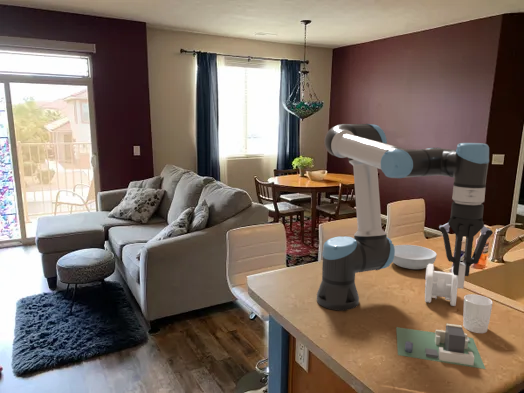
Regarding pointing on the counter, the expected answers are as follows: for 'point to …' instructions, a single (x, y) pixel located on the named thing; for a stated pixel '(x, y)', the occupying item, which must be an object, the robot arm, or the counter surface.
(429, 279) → the cable organizer
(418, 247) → the serving bowl
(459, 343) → the plug
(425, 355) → the board
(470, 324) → the white cup
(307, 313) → the counter surface
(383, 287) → the counter surface
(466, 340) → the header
